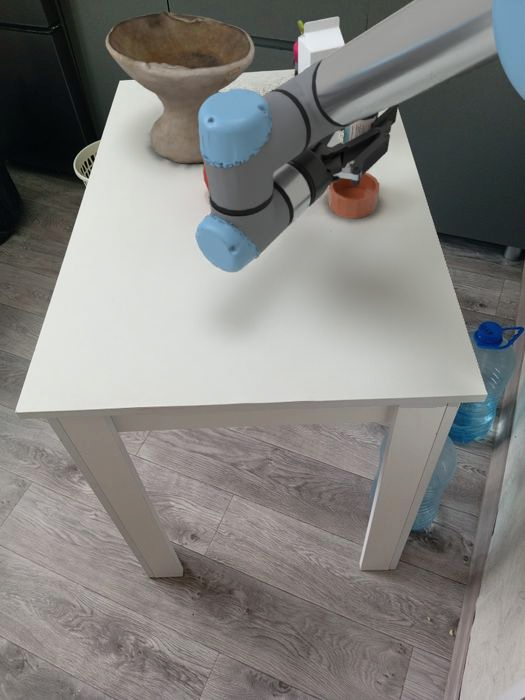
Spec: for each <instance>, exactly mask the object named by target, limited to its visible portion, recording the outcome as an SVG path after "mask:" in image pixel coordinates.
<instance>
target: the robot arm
mask: <svg viewBox="0 0 525 700" xmlns="http://www.w3.org/2000/svg"><path fill="white" fill-rule="evenodd" d="M499 61H500V64H501V66H502V69H503V71H504V73H505V75H506V76H507V79H508V80H509V82H510V84H511V85H512V87H513V88H514V89H515V91H516V92H517V93H518V95H519V96H520V97H521V98H522V99H523V101H525V0H412V1H411V2H409V3H408V4H406V5H405V6H403V7H402V8H400V9H398V10H396V11H395V12H393V13H392V14H390V15H389V16H387V17H385V18H384V19H382V20H381V21H379V22H378V23H376V24H375V25H373V26H371V27H370V28H368V29H367V30H366V31H363V32H362V33H361V34H359V35H358V36H356V37H354V38H353V39H352V40H349V41H348V42H347V43H345V45H343V46H342V47H340V48H339V49H337V50H336V51H334V52H333V53H331V54H329V55H328V56H327V57H325V58H324V59H322V60H320V61H318V62H316V63H314V64H313V65H311V66H310V67H308V68H306V69H305V70H304V71H303V72H301V73H299V74H298V75H296V76H293V77H291V78H290V79H288V80H286V81H284V83H282V84H280V85H279V86H276V88H274V89H273V90H270V91H268V92H266V93H264V94H263V95H262V94H260V93H259V92H257V91H254V90H251V89H247V88H246V89H245V88H230V89H229V90H228V91H225V92H224V91H219V92H218V93H216V94H214V95H212V96H211V97H209V98H208V99H207V100H206V101H205V102H204V103H203V104H202V106H201V108H200V110H199V115H198V121H199V136H200V151H201V153H202V156H203V160H204V162H203V166H204V165H205V170H206V175H207V180H208V185H209V190H210V192H209V191H208V193H209V197H208V198H209V206H210V213H209V214H207V215H206V216H204V218H203V220H202V221H201V222H200V223H198V225H197V228H196V231H195V240H196V244H197V246H198V248H199V250H200V252H201V253H202V255H203V256H204V257H205V259H206V260H207V261H208V262H209V263H210V264H212V265H213V266H214V267H216V268H218V269H220V270H222V271H224V272H226V273H238V272H240V271H241V270H243V269H244V268H245V267H246V266H248V265H249V264H250V263H251V262H253V261H254V260H256V259H258V258H259V257H260V256H261V254H262V253H263V252H264V251H266V249H267V248H268V247H269V246H270V245H271V244H272V243H273V242H274V241H275V240H276V239H278V237H279V236H280V235H282V233H283V232H284V231H285V230H287V228H289V227H290V226H291V225H292V224H293V223H294V222H295V221H296V220H297V219H298V218H299V217H300V216H302V214H303V213H305V211H306V210H307V209H308V208H309V207H311V206H312V205H313V204H315V202H317V201H318V200H319V199H320V198H321V197H322V196H323V195H324V193H326V192H327V189H329V185H330V184H331V183H334V182H337V181H338V180H340V178H345V179H351V184H352V185H359V184H360V181H361V178H362V176H363V175H364V174H365V173H368V171H369V170H370V169H371V168H372V167H373V166H374V165H375V164H376V163H378V161H380V160H381V158H383V157H384V156H385V155H386V154H387V153H388V150H389V146H390V145H389V144H390V139H391V131H392V126H393V125H394V124H395V123H396V122H397V116H398V109H399V104H401V103H404V102H406V101H408V100H410V99H413V98H416V97H418V96H420V95H421V94H424V93H426V92H429V91H431V90H434V89H436V88H438V87H440V86H443V85H445V84H448V83H450V82H452V81H454V80H457V79H459V78H461V77H464V76H466V75H468V74H470V73H473V72H475V71H478V70H480V69H482V68H485V67H487V66H489V65H491V64H494V63H496V62H499ZM382 111H383V113H381V114H379V113H380V112H382ZM378 112H379V113H378ZM376 113H378V114H379V115H378V118H377V119H376V120H375V121H374V122H373V123H371V129H370V130H368V131H367V132H365V133H363V134H361V135H359V136H357V137H356V138H354V139H352V140H350V141H348V142H346V143H344V144H343V142H338V144H337V145H335V146H333V147H328V146H327V145H328V143H329V142H330V140H331V138H332V137H333V135H334V134H335V132H336V131H339V132H344V128H345V127H347V126H349V125H351V124H353V123H355V122H357V121H359V120H362V119H364V118H366V117H369V116H371V115H373V114H376ZM354 159H355V161H353V160H354ZM349 162H350V165H348V167H346V165H347V164H348V163H349ZM345 167H346V168H345Z"/></svg>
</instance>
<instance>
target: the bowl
mask: <svg viewBox="0 0 525 700" xmlns="http://www.w3.org/2000/svg"><path fill="white" fill-rule="evenodd" d="M105 47H106V49H107V50H108V52H109V54H110V55H111V57H112V58H113V59H114V61H115V62H116V63H117V64H118V65H119V66H120V67H121V69H122V70H123V71H124V72H125V73H126V74H127V75H128V76H129V77H130V78H131V79H133V80H134V81H135V82H137V84H139V85H140V86H142V87H143V88H145V89H146V90H148V91H149V92H151V93H153V94H155V95H156V97H157V98H158V99H159V101H160V102H161V104H162V107H163V112H162V115H160V117H158V118H157V119H156V120H155V122H154V123H153V125H152V128H151V131H150V135H149V136H150V137H149V139H150V144H151V147H152V149H153V151H154V152H155V153H156V154H157V155H158V156H161V157H162V158H164V159H167V160H170V161H172V162H174V163H179V164H199V163H201V164H202V163H204V160H203V156H202V153H201V151H200V136H199V121H198V115H199V110H200V108H201V106H202V104H203V103H204V102H205V101H206V100H207V99H208V98H209V97H211V96H212V95H214V94H216V93H218V92H220V91H221V90H223V89H225V88H227V87H228V86H230V84H232V83H233V82H235V81H237V79H238V78H239V77H240V76H241V75H243V74H244V73H245V72H246V70H247V69H248V68H249V67H250V65H251V64H252V63H253V60H254V57H255V49H256V48H255V44H254V41H253V40H252V37H251V36H250V35H249V34H248V33H247V32H246V31H245V30H244V29H242V28H240V27H238V26H236V25H232V24H228V23H225V22H222V21H219V20H215V19H213V18H209V17H204V16H199V15H192V14H187V13H186V14H183V13H174V12H169V11H167V10H165V11H161V12H154V13H148V14H144V15H137V16H133V17H130V18H127V19H125V20H122V21H120V22H118V23H117V24H115V25H114V26H113V27H112V28H111V29H110V31H109V32H108V34H107V35H106V38H105Z"/></svg>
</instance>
